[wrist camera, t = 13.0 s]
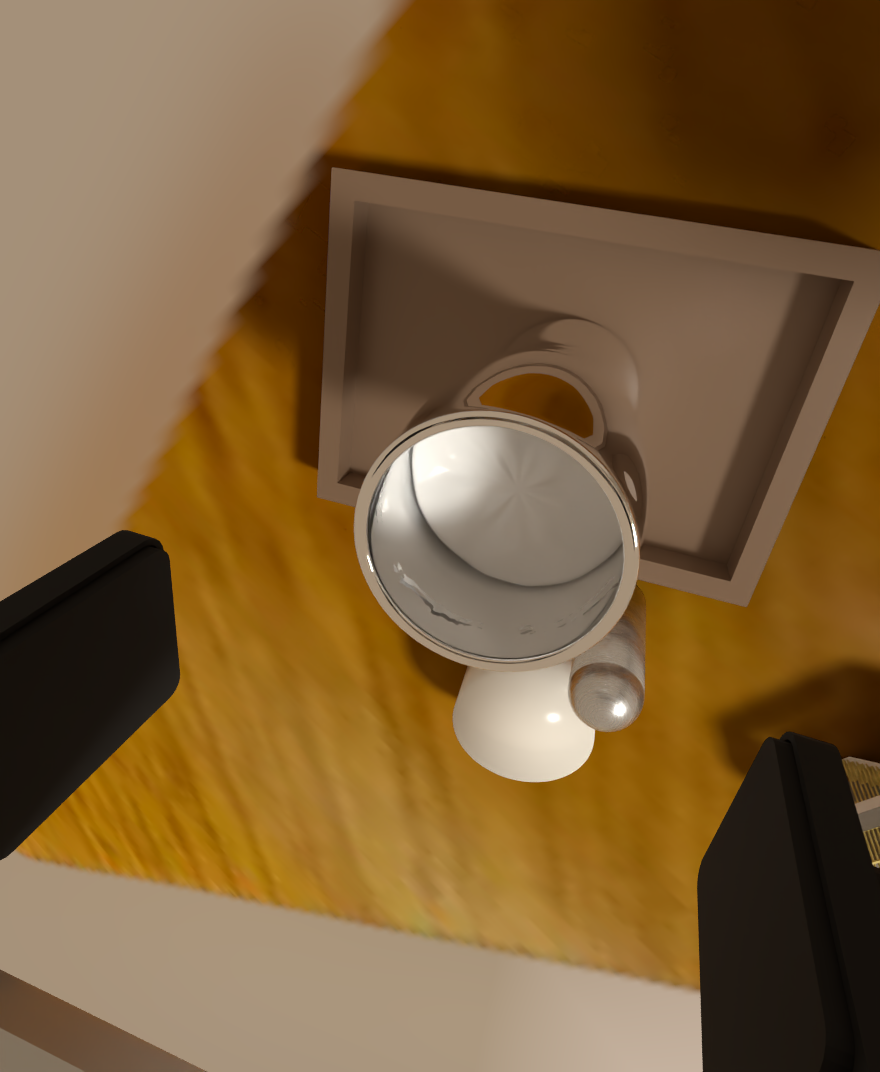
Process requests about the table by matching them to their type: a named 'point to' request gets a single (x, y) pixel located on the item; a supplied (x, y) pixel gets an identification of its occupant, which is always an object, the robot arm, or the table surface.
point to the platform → (866, 800)
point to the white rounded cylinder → (521, 723)
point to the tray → (627, 312)
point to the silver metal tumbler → (514, 504)
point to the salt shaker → (612, 673)
